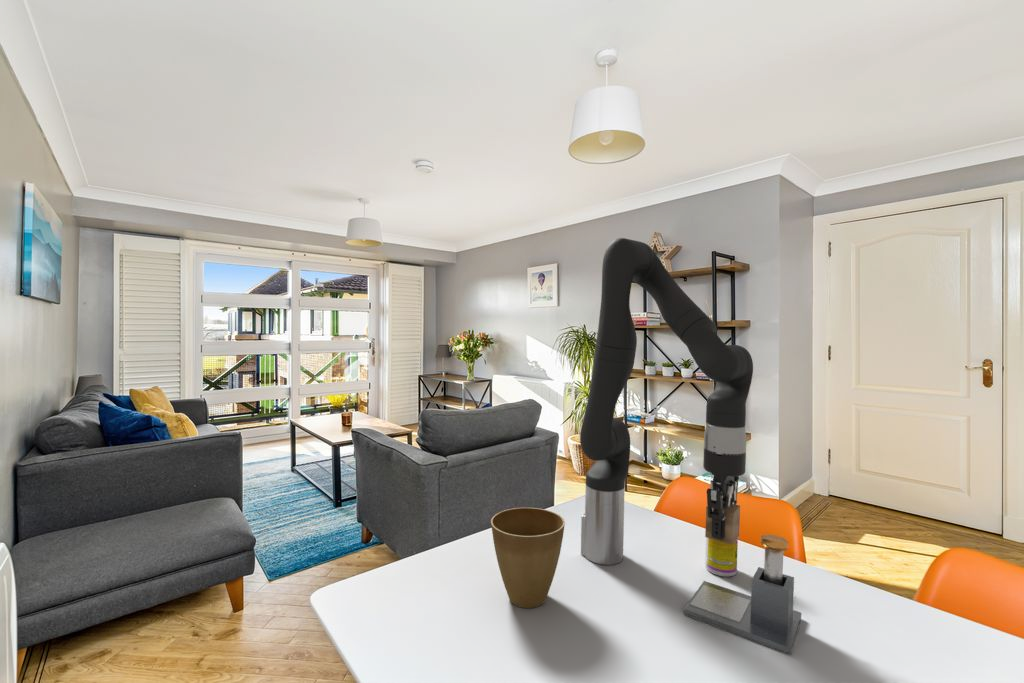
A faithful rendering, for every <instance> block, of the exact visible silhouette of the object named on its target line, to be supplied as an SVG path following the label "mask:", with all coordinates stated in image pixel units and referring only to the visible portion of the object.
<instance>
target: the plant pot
mask: <svg viewBox="0 0 1024 683" xmlns="http://www.w3.org/2000/svg"><path fill="white" fill-rule="evenodd" d="M490 524H491V531H492V532H491V533H492V539H493V545H494V546H493V547H494V552H495V556H496V560H497V564H498V567H499V569H498V570H499V571H500V575H501V578H502V582H503V585H504V588H505V591H506V594H507V596H508V598H509V601H510V602H511V603H512V604H513V605H514V606H516V607H519V608H523V609H533V608H537V607H539V606H542V605H543V604H544V603H545V601H546V600H547V596H548V595H549V591H550V588H551V587H552V583H553V580H554V577H555V573H556V570H557V567H558V564H559V563H558V562H559V559H560V555H561V550H562V544H563V539H564V531H565V525H566V523H565V519H564V518H563V517H562V516H561V515H560V514H559V513H556V512H554V511H552V510H548V509H543V508H540V507H539V508H538V507H514V508H509V509H505V510H502V511H499V512H498V513H495V515H493V516H492V517H491V519H490Z"/></svg>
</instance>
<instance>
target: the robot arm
mask: <svg viewBox="0 0 1024 683" xmlns="http://www.w3.org/2000/svg"><path fill="white" fill-rule="evenodd" d="M632 282H634V283H635V284H637V285H639V286H640V287H641V288H642V289H644V290H645V291H646V292H647V293H648V294H649V295H650V296H651V298H652V299H653V300H654V301H655V304H656V305H657V307H658V310H659V312H660V315H661V317H662V318H663V320H664V322H665V323H666V325H667V327H669V328H670V329H671V330H672V332H673V333H674V334H675V335H676V336H677V338H679V339H680V341H681V342H682V343H683V344H684V345H685V346H686V347H687V349H688V351H689V353H690V355H691V357H692V359H693V360H694V362H695V364H696V366H697V367H698V368H699V370H700V371H701V372H702V373H703V374H704V375H705V376H706V377H708V378H709V379H710V380H712V381H715V387H714V390H713V392H712V393H711V394H709V395H708V397H707V399H706V406H705V407H706V408H705V409H706V410H705V428H704V435H703V436H704V437H703V461H702V462H703V465H702V466H703V469H704V470H705V471H706V472H708V473H711V474H712V475H713V476H712V480H710V484H709V488H707V490H706V500H707V501H706V503H707V504H706V507H707V508H708V517H709V518H712V537H713V538H717V539H720V540H723V539H724V537H725V519H726V510H727V509H728V508H729V507H730V504H735V505H737V503H738V499H737V498H738V489H739V479H740V477H741V476H743V475H744V474H746V465H747V464H746V462H747V430H746V422H747V421H746V418H747V414H746V413H747V412H746V411H747V407H746V406H747V400H748V397H749V393H750V389H751V385H752V378H753V374H754V361H753V357H752V355H751V354H750V352H749V350H747V349H746V348H745V347H744V346H742V345H739V344H726V343H725V342H723V340H722V339H721V337H719V335H718V334H717V332H718V329H717V325H716V324H715V322H714V321H713V320H712V319H711V318H710V317H709V315H707V314H706V313H705V312H704V311H703V310H702V309H701V308H700V307H699V306H698V305H697V303H695V302H694V300H692V299H691V298H690V297H689V296H688V294H686V292H685V291H684V290H683V289H682V288H681V287H680V285H679V284H678V283H677V282H676V280H675V279H674V278H673V276H672V275H671V274H670V273H669V271H668V270H667V269H666V267H665V266H664V263H663V262H662V260H660V258H659V256H658V254H656V252H655V251H654V250H653V249H652V247H651V246H650V245H648V243H645V242H642V241H639V240H634V239H629V238H625V237H620V238H615V239H614V240H612V241H611V242H610V243H609V244H608V246H606V248H605V251H604V254H603V259H602V270H601V294H600V296H601V297H600V298H601V299H600V309H599V318H598V327H597V328H598V329H597V334H596V335H597V336H596V340H595V348H594V353H593V354H594V355H593V364H592V365H593V366H592V372H591V379H590V386H589V392H588V396H587V397H588V399H587V403H586V408H585V412H584V416H583V420H582V423H581V424H582V425H581V428H580V429H581V430H580V433H579V435H580V436H579V441H580V447H581V450H582V453H583V454H584V455H585V456H586V457H587V458H588V459H589V460H592V461H594V462H593V464H592V466H591V467H590V468H589V469H588V470H587V472H586V474H585V494H584V495H585V497H584V498H585V501H584V503H585V504H584V514H582V515H581V520H580V521H581V525H580V526H581V527H580V528H581V529H580V530H581V531H580V555H582V556H584V557H585V558H586V559H587V560H588V561H590V562H593V563H594V564H599V565H606V566H611V565H616V564H619V563H621V562H622V561H624V560H623V559H624V539H625V538H624V532H625V530H624V529H625V528H624V527H625V487H626V486H625V484H626V479H627V477H628V475H629V470H630V458H631V456H630V455H631V434H630V430H629V428H628V426H627V425H626V423H625V422H624V421H623V420H621V419H619V418H617V417H614V415H615V410H616V406H617V402H618V401H619V398H620V395H621V394H622V392H623V390H624V388H625V387H626V385H627V382H628V381H629V379H630V377H631V374H632V371H633V369H634V364H635V358H636V351H637V347H638V346H637V345H638V344H637V341H638V339H637V338H638V337H637V331H636V327H635V325H634V320H633V316H632V312H631V306H630V300H631V299H630V298H631V289H632ZM723 502H725V503H723ZM715 509H718V512H719V513H717V512H715Z"/></svg>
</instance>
